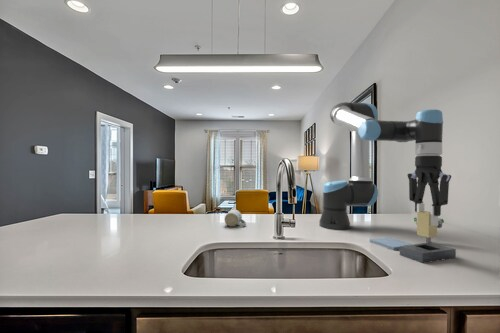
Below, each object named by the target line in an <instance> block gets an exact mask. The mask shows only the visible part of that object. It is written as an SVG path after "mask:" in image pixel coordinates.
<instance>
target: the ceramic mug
mask: <svg viewBox="0 0 500 333" xmlns="http://www.w3.org/2000/svg"><path fill="white" fill-rule="evenodd" d="M242 217H243V216H242V213H241V211H239V210H237V209H235V208H234V209H230V210H229V211H228V212H227V213H226V214H225V216H224V223H225V225H226V226H228V227H231V228H232V227H235V226H237V225H238V226H241V227H243V228H244V227H246V226H247V222H246V221H245V220H244V219H243V218H242Z"/></svg>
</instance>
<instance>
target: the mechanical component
mask: <svg viewBox="0 0 500 333" xmlns="http://www.w3.org/2000/svg"><path fill="white" fill-rule="evenodd" d="M413 220H414V222H415V224H416V226H417V216H415V217H414V218H413ZM444 221H445V220H444V218H440V217H438V225H437V229H441V228H442V227H443V224H444V223H445V222H444ZM425 241H426V242H425V243H430V242H432V237H431V238H428V237H425Z"/></svg>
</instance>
